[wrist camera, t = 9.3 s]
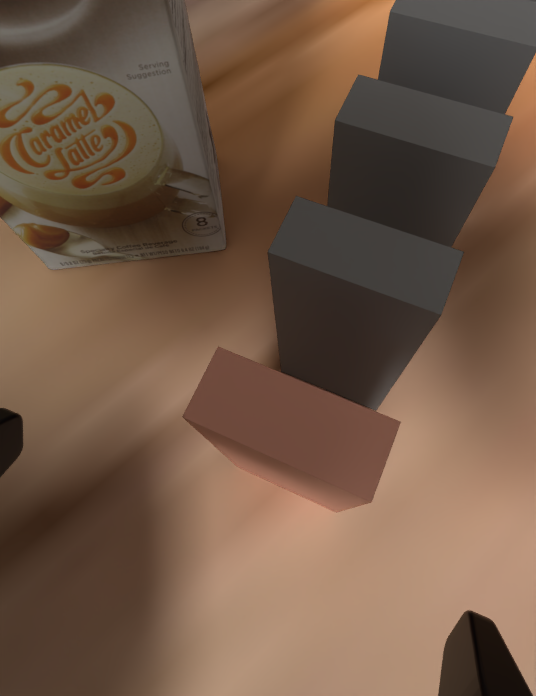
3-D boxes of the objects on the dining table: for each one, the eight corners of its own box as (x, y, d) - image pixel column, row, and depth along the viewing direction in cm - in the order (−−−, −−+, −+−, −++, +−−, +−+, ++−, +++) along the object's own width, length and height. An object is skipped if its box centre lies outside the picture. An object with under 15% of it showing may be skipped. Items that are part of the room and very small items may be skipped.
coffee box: (47, 277, 24) (-390, -152, 9) (52, 172, 26) (-289, -313, 11) (231, 252, 24) (113, -227, 9) (220, 149, 26) (112, -375, 11)
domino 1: (440, 241, 23) (537, 47, 14) (354, 212, 24) (390, 11, 15) (452, 211, 24) (553, 6, 14) (366, 184, 24) (409, -27, 15)
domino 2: (410, 321, 22) (494, 167, 12) (319, 287, 23) (334, 120, 13) (423, 287, 22) (513, 117, 13) (334, 256, 23) (358, 74, 14)
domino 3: (376, 410, 20) (441, 315, 11) (281, 371, 21) (267, 252, 12) (390, 373, 21) (464, 251, 12) (297, 336, 22) (296, 195, 12)
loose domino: (336, 512, 19) (371, 502, 10) (237, 466, 20) (182, 417, 11) (352, 470, 20) (400, 421, 10) (255, 427, 21) (217, 346, 11)
